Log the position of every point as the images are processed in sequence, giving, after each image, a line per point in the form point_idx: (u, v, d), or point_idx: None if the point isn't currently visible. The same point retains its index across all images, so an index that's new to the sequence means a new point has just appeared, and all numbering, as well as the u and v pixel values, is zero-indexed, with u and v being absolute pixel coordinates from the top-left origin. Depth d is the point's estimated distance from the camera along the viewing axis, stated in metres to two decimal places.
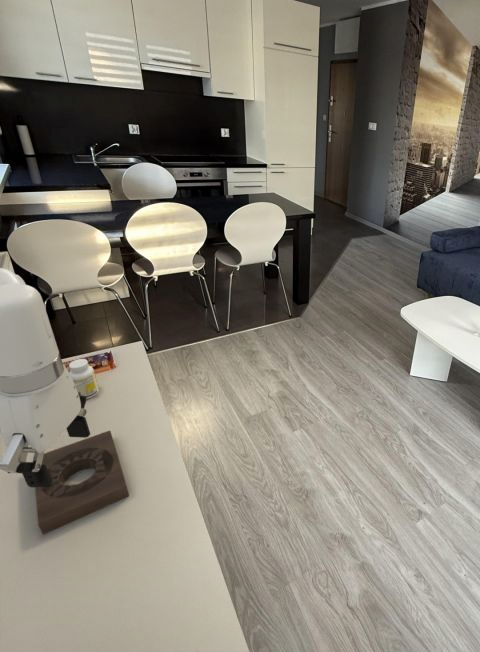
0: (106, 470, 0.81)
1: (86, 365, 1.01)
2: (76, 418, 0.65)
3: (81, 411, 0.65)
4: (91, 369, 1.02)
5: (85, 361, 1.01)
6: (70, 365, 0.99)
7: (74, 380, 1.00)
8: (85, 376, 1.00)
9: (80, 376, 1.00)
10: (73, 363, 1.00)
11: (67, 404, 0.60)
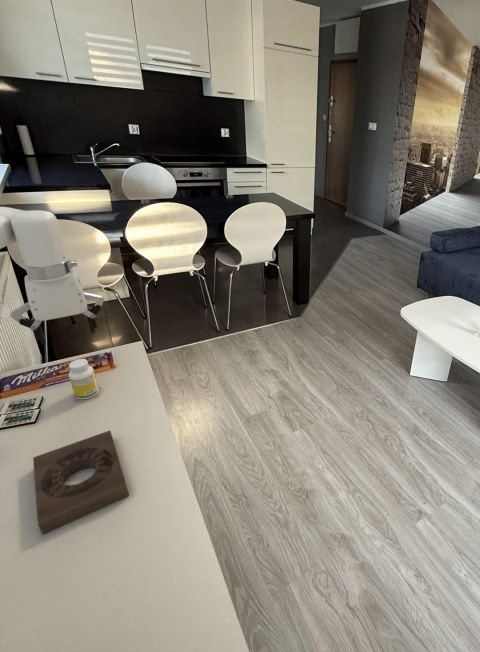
0: (106, 470, 0.81)
1: (86, 365, 1.01)
2: (88, 317, 0.94)
3: (89, 313, 0.93)
4: (91, 369, 1.02)
5: (85, 361, 1.01)
6: (70, 365, 0.99)
7: (74, 380, 1.00)
8: (85, 376, 1.00)
9: (80, 376, 1.00)
10: (73, 363, 1.00)
11: (66, 301, 0.88)
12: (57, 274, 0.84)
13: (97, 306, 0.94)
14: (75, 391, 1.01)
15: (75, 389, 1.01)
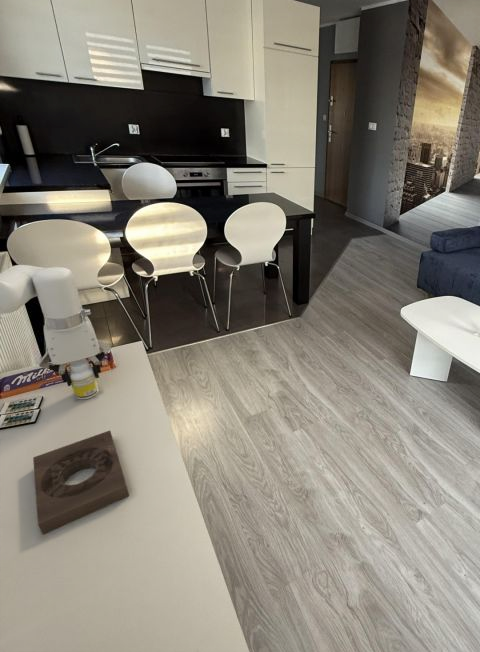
0: (106, 470, 0.81)
1: (86, 365, 1.01)
2: (93, 363, 1.02)
3: (95, 360, 1.01)
4: (91, 369, 1.02)
5: (85, 361, 1.01)
6: (70, 365, 0.99)
7: (74, 380, 1.00)
8: (85, 375, 1.00)
9: (81, 376, 1.00)
10: (73, 363, 1.00)
11: (81, 346, 0.97)
12: (73, 324, 0.93)
13: (102, 353, 1.02)
14: (75, 391, 1.01)
15: (75, 389, 1.01)
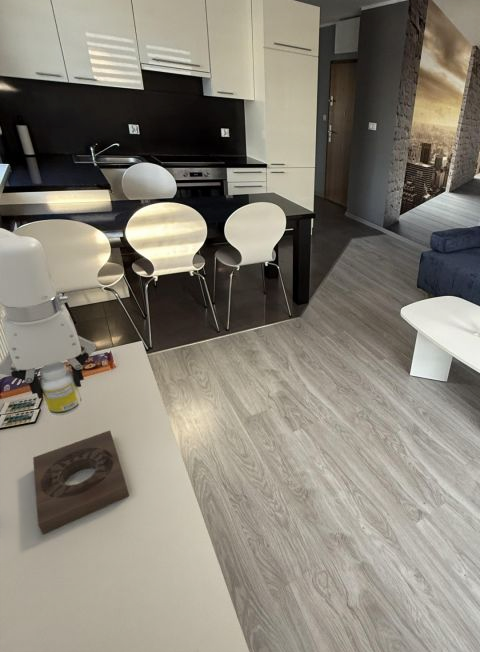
0: (106, 470, 0.81)
1: (64, 370, 0.76)
2: (72, 368, 0.77)
3: (75, 363, 0.76)
4: (70, 375, 0.77)
5: (62, 365, 0.76)
6: (42, 370, 0.74)
7: (47, 390, 0.75)
8: (62, 384, 0.75)
9: (56, 385, 0.75)
10: (46, 367, 0.75)
11: (55, 345, 0.72)
12: (44, 314, 0.68)
13: (85, 354, 0.77)
14: (49, 405, 0.76)
15: (49, 402, 0.76)
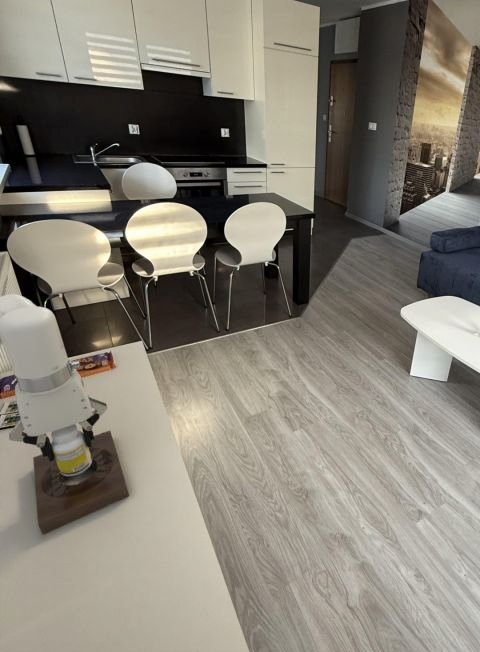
0: (106, 470, 0.81)
1: (74, 432, 0.76)
2: (83, 429, 0.77)
3: (86, 425, 0.76)
4: (81, 436, 0.77)
5: (73, 427, 0.76)
6: (53, 433, 0.74)
7: (58, 453, 0.74)
8: (72, 447, 0.75)
9: (67, 448, 0.75)
10: (57, 430, 0.75)
11: (67, 410, 0.72)
12: (56, 383, 0.68)
13: (96, 415, 0.77)
14: (60, 466, 0.76)
15: (60, 464, 0.76)
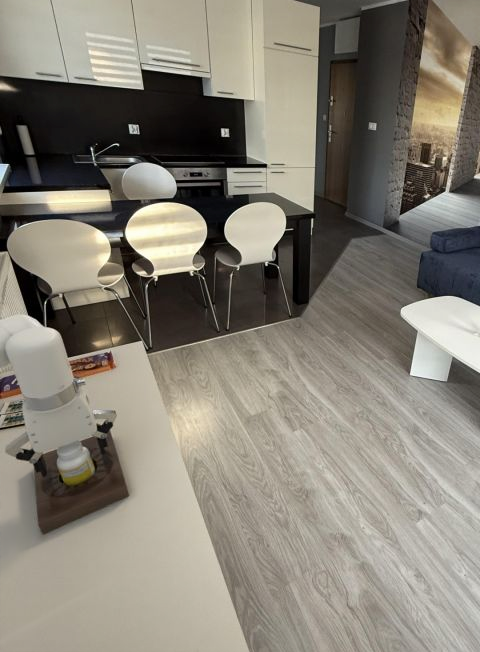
0: (106, 470, 0.81)
1: (79, 449, 0.77)
2: (97, 437, 0.79)
3: (99, 434, 0.79)
4: (86, 453, 0.79)
5: (78, 443, 0.78)
6: (58, 451, 0.76)
7: (64, 470, 0.76)
8: (78, 463, 0.77)
9: (72, 465, 0.77)
10: (62, 447, 0.77)
11: (72, 427, 0.74)
12: (62, 402, 0.70)
13: (108, 424, 0.80)
14: (65, 482, 0.78)
15: (65, 480, 0.78)
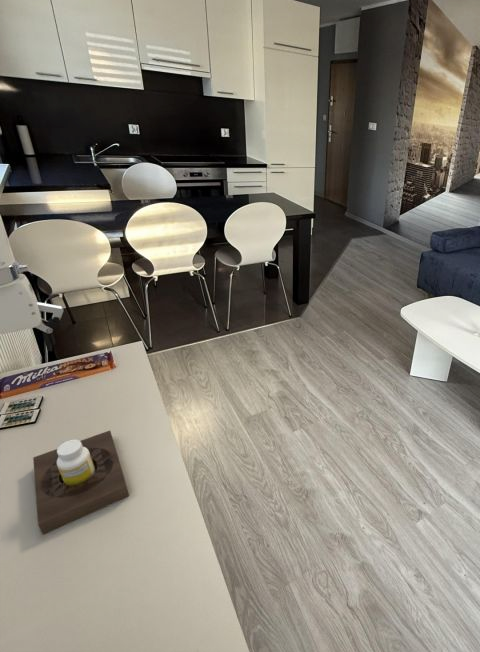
0: (106, 470, 0.81)
1: (79, 449, 0.77)
2: (43, 331, 0.78)
3: (44, 328, 0.77)
4: (86, 453, 0.79)
5: (78, 443, 0.78)
6: (58, 451, 0.76)
7: (64, 470, 0.76)
8: (78, 463, 0.77)
9: (72, 465, 0.77)
10: (62, 447, 0.77)
11: (14, 313, 0.72)
12: (0, 281, 0.68)
13: (55, 319, 0.78)
14: (65, 482, 0.78)
15: (65, 480, 0.78)
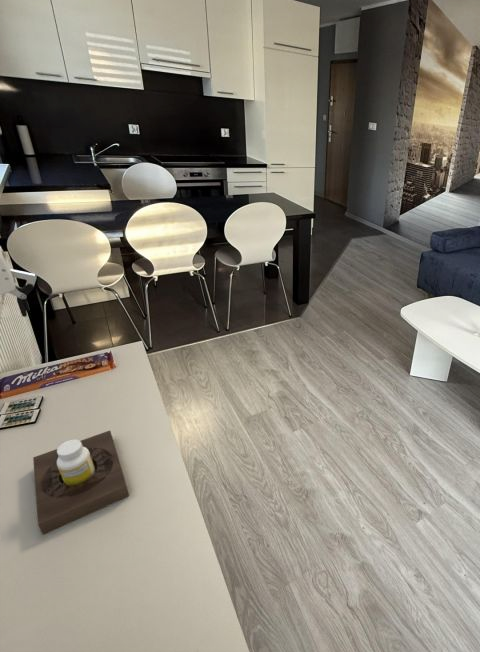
0: (106, 470, 0.81)
1: (79, 449, 0.77)
2: (17, 297, 0.82)
3: (18, 293, 0.82)
4: (86, 453, 0.79)
5: (78, 443, 0.78)
6: (58, 451, 0.76)
7: (64, 470, 0.76)
8: (78, 463, 0.77)
9: (72, 465, 0.77)
10: (62, 447, 0.77)
11: None
12: None
13: (28, 285, 0.82)
14: (65, 482, 0.78)
15: (65, 480, 0.78)
